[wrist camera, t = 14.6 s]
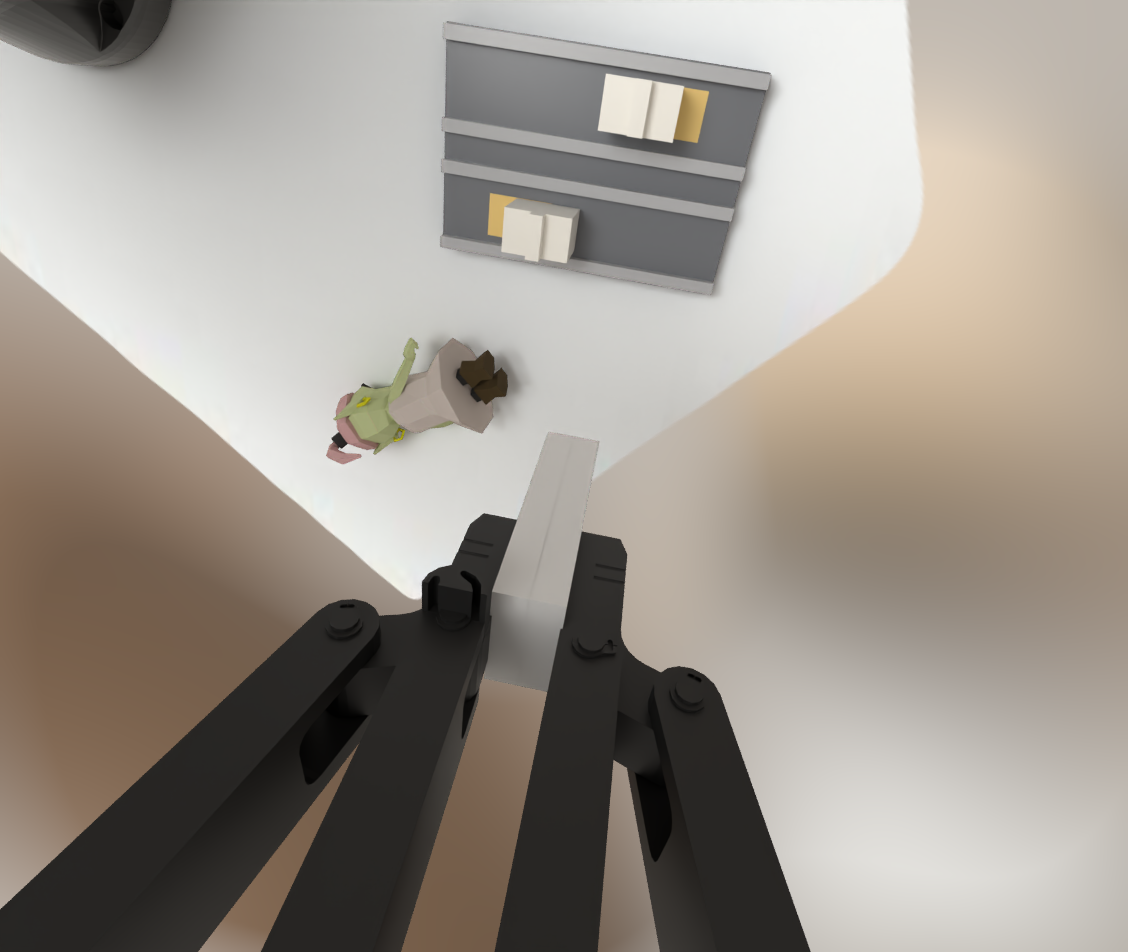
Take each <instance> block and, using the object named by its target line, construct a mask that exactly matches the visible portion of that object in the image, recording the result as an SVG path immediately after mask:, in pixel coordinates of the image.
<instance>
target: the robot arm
mask: <svg viewBox="0 0 1128 952" xmlns="http://www.w3.org/2000/svg"><path fill="white" fill-rule="evenodd" d="M170 5H171V0H0V40H2V41H4V42H6V43H8V44H11V45H13V46H15V47H17V48H20V49H22V50H24V51H26V52H28V53H31V54H33V55H36V56H38V57H41V58H44V59H48V60H51V61H55V62H60V63H65V64H73V65H90V66H111V65H117V64H121V63H124V62H127V61H129V60H131V59H134V58H135V57H137V56H138V55H140V54H141V53H142V52H144V51H145V50H146V49H147V48H148V47H149V46H150V45H151V44H152V43H153V41H154V40H155V39H156V37H157V36H158V34H159V33H160V31H161V29H162V27H163V25H164V23H165V20H166V18H167V15H168V12H169V9H170ZM598 445H599V441H594V440H589V439H584V438H579V437H573V436H568V435H563V434H558V433H553V432H548V434H547V437H546V440H545V443H544V446H543V448H542V451H541V454H540V457H539V460H538V463H537V465H536V468H535V471H534V474H533V477H532V480H531V482H530V485H529V488H528V491H527V494H526V496H525V499H524V502H523V505H522V508H521V511H520V513H519V516H518V519H517V520H515V519H510V518H505V517H500V516H495V515H490V514H485V513H484V514H482V515H481V516H480V517H479V518H477V519H476V520H475V521H474V522H472V523H471V524H470V526H469V528H468V530H467V533H466V535H465V537H464V540H463V541H462V543H461V546H460V548H459V551H458V552H457V554H456V556H455V559H454V561H453V563H452V565H449V566H445V567H440V568H438V569H436V570H434V571H432V572H430V573H429V574H428V575H427V576H426V577H425V579H424V580H423V581H422V609H420V610H418V611H415V612H412V613H407V614H400V615H384V616H379V615H378V613H377V611H376V609H375V608H374V607H373V606H371V605H370V604H368V603H366V602H364V601H359V600H355V599H352V600H340V601H337V602H334V603H331V604H328V605H327V606H325V607H324V608H322V609H321V610H319V611H318V612H317V613H316V614H315V615H314V616H312V617H311V618H310V619H309V620H308V621H307V622H306V623H305V624H304V625H303V626H302V627H301V628H300V629H299V630H298V631H297V632H295V633H294V634H293V635H292V636H291V637H290V638H289V639H288V640H287V641H286V642H285V643H284V644H283V645H282V646H280V648H278V649H277V650H276V651H275V652H274V653H273V654H272V655H271V656H270V657H269V658H268V659H267V660H266V661H265V662H263V664H261V665H260V666H259V667H258V668H257V669H256V670H255V671H254V672H253V673H252V674H251V675H250V676H249V677H247V678H246V679H245V680H244V681H243V682H242V683H241V684H240V685H239V686H238V687H237V688H236V689H235V690H234V691H233V692H232V693H230V694H229V695H228V696H227V697H226V698H225V699H224V700H223V701H222V702H221V703H220V704H219V705H218V706H217V707H216V708H214V710H212V711H211V712H210V713H209V714H208V715H207V716H206V717H205V718H204V719H203V720H202V721H201V722H199V723H198V724H197V726H195V727H194V728H193V729H192V730H191V731H190V732H189V733H188V734H187V735H186V736H185V737H184V738H182V739H181V740H180V741H179V742H178V743H177V744H176V745H175V746H174V747H173V748H172V749H171V750H170V751H169V752H168V753H166V754H165V755H164V756H163V757H162V758H161V759H160V760H159V761H158V762H157V763H156V764H155V765H154V766H153V767H152V768H151V769H149V770H148V771H147V772H146V773H145V774H144V775H143V776H142V777H141V778H140V779H139V780H138V781H137V782H136V783H134V784H133V785H132V786H131V787H130V788H129V789H128V790H127V791H126V792H125V793H124V794H123V795H122V796H121V797H120V798H119V799H118V800H116V801H115V802H114V803H113V804H112V805H111V806H110V807H109V808H108V809H107V810H106V811H105V812H104V813H103V814H101V815H100V816H99V817H98V818H97V819H96V820H95V821H94V822H93V823H92V824H91V825H90V826H89V827H88V828H87V829H86V830H84V831H83V832H82V833H81V834H80V835H79V836H78V837H77V838H76V839H75V840H74V841H73V842H72V843H71V844H70V845H68V846H67V847H66V848H65V849H64V850H63V851H62V852H61V853H60V854H59V855H58V856H57V857H56V858H55V859H54V860H52V861H51V862H50V863H49V864H48V865H47V866H46V867H45V868H44V869H43V870H42V871H41V872H40V873H39V874H38V875H36V877H34V878H33V879H32V880H31V881H30V882H29V883H28V884H27V885H26V886H25V887H24V888H23V889H22V890H21V891H19V892H18V893H17V894H16V895H15V896H14V897H13V898H12V899H11V900H10V901H9V902H8V903H7V904H6V905H5V906H3V907H2V908H1V909H0V952H198V951H199V950H200V948H201V947H202V946H203V944H204V943H205V942H206V941H207V939H208V938H209V937H210V935H211V934H212V933H213V931H214V930H215V929H216V928H217V926H218V925H219V924H220V922H221V921H222V920H223V919H224V917H225V916H226V915H227V913H228V912H229V911H230V909H231V908H232V907H233V906H234V904H235V903H236V902H237V900H238V899H239V898H240V897H241V895H242V894H243V893H244V891H245V890H246V889H247V887H248V886H249V885H250V884H251V882H252V881H253V880H254V878H255V877H256V876H257V874H258V873H259V872H260V871H261V869H262V868H263V866H265V864H266V863H267V862H268V860H269V859H270V858H271V856H272V855H273V854H274V852H275V851H276V850H277V849H278V847H279V846H280V845H281V843H282V842H283V841H284V840H285V838H286V837H287V836H288V834H289V833H290V832H291V831H292V829H293V828H294V827H295V825H296V824H297V823H298V821H299V820H300V819H301V818H302V816H303V815H304V814H305V812H306V811H307V810H308V808H309V807H310V806H311V805H312V803H313V802H314V801H315V799H316V798H317V797H318V795H319V794H320V793H321V792H322V790H323V789H324V788H325V786H326V785H327V784H328V783H329V781H330V780H331V779H332V777H333V776H334V775H335V773H336V772H337V771H338V770H339V768H340V767H341V766H342V764H343V763H344V762H345V760H346V759H347V758H348V757H349V755H350V754H351V753H352V751H353V750H354V749H355V748H356V746H357V745H358V744H359V745H358V747H357V749H356V751H355V754H354V756H353V758H352V760H351V762H350V764H349V766H348V769H347V770H346V773H345V775H344V777H343V779H342V782H341V783H340V786H339V787H338V790H337V792H336V794H335V796H334V798H333V800H332V802H331V804H330V807H329V809H328V811H327V813H326V815H325V817H324V819H323V821H322V824H321V826H320V828H319V830H318V832H317V834H316V836H315V838H314V840H313V843H312V845H311V847H310V849H309V851H308V853H307V855H306V857H305V859H304V862H303V864H302V866H301V868H300V870H299V872H298V874H297V876H296V879H295V881H294V883H293V885H292V887H291V889H290V891H289V893H288V895H287V898H286V900H285V902H284V904H283V906H282V908H281V910H280V912H279V915H278V917H277V919H276V921H275V923H274V925H273V927H272V929H271V932H270V934H269V936H268V938H267V940H266V942H265V944H264V947H263V949H262V951H261V952H401V950H402V947H403V943H404V940H405V937H406V934H407V930H408V927H409V924H410V920H411V917H412V914H413V911H414V908H415V904H416V901H417V898H418V895H419V891H420V888H421V885H422V882H423V878H424V875H425V872H426V869H427V865H428V862H429V859H430V856H431V853H432V849H433V846H434V843H435V839H436V836H437V833H438V830H439V826H440V823H441V820H442V816H443V814H444V810H445V807H446V804H447V801H448V797H449V794H450V791H451V788H452V784H453V781H454V778H455V774H456V771H457V768H458V765H459V762H460V758H461V755H462V752H463V749H464V746H465V742H466V739H467V736H468V732H469V729H470V726H471V723H472V719H473V716H474V713H475V710H476V707H477V703H478V697H479V686H480V683H481V680H482V677H483V674H484V671H485V675H484V678H485V679H489V680H495V681H499V682H504V683H508V684H513V685H517V686H522V687H527V688H532V689H536V690H541V691H546V692H547V697H546V702H545V707H544V711H543V716H542V721H541V726H540V731H539V736H538V741H537V746H536V751H535V755H534V760H533V765H532V770H531V775H530V780H529V785H528V790H527V795H526V800H525V805H524V810H523V815H522V820H521V825H520V829H519V834H518V839H517V844H516V849H515V854H514V859H513V864H512V869H511V874H510V879H509V883H508V888H507V893H506V898H505V903H504V908H503V913H502V918H501V923H500V928H499V932H498V938H497V943H496V947H495V952H597V951H598V939H599V926H600V914H601V903H602V891H603V878H604V867H605V855H606V843H607V830H608V818H609V806H610V805H609V804H610V793H611V782H612V770H613V760H615V761H616V762H618V763H620V764H622V765H623V766H625V767H627V771H628V777H629V782H630V788H631V793H632V799H633V804H634V810H635V815H636V821H637V826H638V832H639V837H640V843H641V849H642V854H643V860H644V866H645V871H646V876H647V882H648V888H649V893H650V899H651V904H652V909H653V916H654V921H655V927H656V932H657V938H658V943H659V949H660V952H810V949H809V946H808V943H807V940H806V938H805V935H804V932H803V929H802V926H801V923H800V920H799V917H798V915H797V912H796V909H795V906H794V904H793V900H792V897H791V894H790V892H789V889H788V886H787V883H786V880H785V877H784V875H783V872H782V869H781V866H780V863H779V860H778V857H777V855H776V852H775V849H774V846H773V843H772V840H771V838H770V835H769V832H768V829H767V826H766V823H765V820H764V818H763V815H762V812H761V809H760V806H759V803H758V800H757V798H756V795H755V792H754V789H753V786H752V783H751V781H750V778H749V775H748V772H747V769H746V767H745V764H744V761H743V758H742V755H741V752H740V750H739V746H738V744H737V741H736V738H735V735H734V732H733V729H732V727H731V724H730V721H729V718H728V715H727V712H726V709H725V707H724V704H723V701H722V698H721V695H720V693H719V692H718V690H717V688H716V687H715V685H714V683H712V682H711V681H710V680H709V679H708V678H707V677H706V676H705V675H704V674H702V673H700V672H698V671H696V670H694V669H691V668H686V667H680V666H678V667H672V668H667V669H666V670H664V671H663V672H659V671H657V670H655V669H653V668H651V667H649V666H647V665H645V664H644V663H642V662H641V661H639V660H637V659H636V658H635V657H634V656H633V655H632V654H631V653H630V652H629V651H628V649H627V648H626V646H625V645H624V642H623V640H622V637H621V621H622V609H623V597H624V586H625V585H624V584H625V575H626V572H625V571H626V563H627V553H626V551H625V548H624V546H623V544H622V542H621V540H620V539H617V538H612V537H607V536H602V535H596V534H591V533H586V532H582V527H583V522H584V517H585V511H586V506H587V501H588V496H589V491H590V486H591V481H592V476H593V471H594V465H595V460H596V455H597V450H598ZM359 742H360V743H359Z"/></svg>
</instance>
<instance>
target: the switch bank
mask: <svg viewBox="0 0 1128 952" xmlns="http://www.w3.org/2000/svg"><path fill="white" fill-rule="evenodd" d="M443 39H446V99H445V117H442V131H445V158H444V159H441V172H444V225H443V235H441V236H440V247H443V248H449V249H455V250H460V251H466V252H472V253H477V254H483V255H488V256H494V257H500V258H505V259H511V260H516V261H522V262H528V263H533V264H539V265H545V266H550V267H556V268H561V269H567V270H573V271H578V272H584V273H589V274H595V275H601V276H606V277H612V278H618V279H623V280H629V281H634V282H640V283H646V284H651V285H657V286H662V287H668V288H674V289H679V290H685V291H691V292H696V293H702V294H707V295H711V293H712V289H713V286H714V283H713V281H714V277H715V274H716V270H717V266H718V263H719V259H720V255H721V252H722V248H723V244H724V241H725V237H726V233H727V230H728V226H729V223H730V222H731V220H732V217H733V213H734V204H735V201H736V197H737V193H738V190H739V186H740V183H741V181H743V177H744V173H745V170H746V168H745V164H746V161H747V157H748V153H749V150H750V146H751V143H752V139H753V135H754V132H755V128H756V124H757V121H758V117H759V113H760V110H761V106H762V103H763V99H764V95H765V92H766V90H768V86H769V83H770V79H771V75H770V73H768V72H762V71H756V70H750V69H743V68H737V67H731V66H724V65H718V64H712V63H706V62H699V61H693V60H687V59H680V58H674V57H668V56H661V55H655V54H649V53H643V52H636V51H630V50H624V49H617V48H611V47H605V46H598V45H592V44H586V43H580V42H573V41H567V40H561V39H554V38H548V37H542V36H535V35H529V34H523V33H517V32H510V31H504V30H498V29H491V28H485V27H479V26H473V25H466V24H460V23H454V22H447V23H443ZM606 74H612V75H618V76H624V77H631V78H639V79H645V80H651V81H656V82H662V83H668V84H674V85H680V86H684V90H683V95H682V100H681V104H680V109H679V114H678V119H677V124H676V128H675V133H674V138H673V143H670V142H664V141H658V140H652V139H646V138H642V139H640V138H634V137H628V136H627V135H622V134H616V133H610V132H604V131H598V125H599V118H600V111H601V104H602V98H603V91H604V84H605V77H606ZM517 198H519V199H525V200H530V201H536V202H542V203H548V204H554V205H559V206H565V207H571V208H577V209H580V212H579V220H578V227H577V234H576V242H575V249H574V252H573V254H572V255H571V257H570V259H569V260H568V262H567V263H561V262H556V261H550V260H545V259H540V260H539V261H538V262H536V261H530V260H525V256H522V255H516V254H511V253H505V252H501V249H502V234H503V220H504V207H505V206H507V205H508V204H510V203H511V202H513V201H514V200H515V199H517Z"/></svg>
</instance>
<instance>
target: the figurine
mask: <svg viewBox="0 0 1128 952" xmlns="http://www.w3.org/2000/svg"><path fill="white" fill-rule="evenodd" d="M414 348H416V349H418V348H419V347H418V344H417V342H415V341H414V340H413V339H412V338H410V339H409V341H408V343H407V345H406V346H405V349H404V352H403V355H404V357H405V359H404V361H403V363H402V365H401V367H400V369H399V371H398V373H397V375H396V377H395V379H394V381H393V384H392V386H389V387H384V388H378V389H374V388H371V387H369V386H367V385H365V384H364V383H363V384H362V385H361V386H362V387H361V388H360V389H359V390H358V391H357V392H356V393H355V394H354V393H350V394H347V395H345V396H344V397H342V398H341V399H340V401H339V403H338V406H337V410H336V417H335V418H334V420H337V429H338V431H339V432H338V433H337V434H336V435H335V436H333V437H332V440H333V443H332V444H331V445H330V446H329V449H328V452H327V455H326V456H327V457H328V458H330V459H332V460H334V461H336V462H338V463H341V464H345V463H348V462H350V461H353V460H355V459H358V458H361V455H360V454H348V453H344V452H342V451H339V450H338V448H339V447H340V448H341V449H342V448H343V447H344V446H346V445H347V444H350V445H353V446H356V447H359V448H362V449H366V450H369V449H375V451H374V453H373V454H377V453H378V452H379V451H381V450H382V449H383V448H385V447H386V446H388V445H389V444H390V443H392V442H393V441H394V442H396V441H399V440H402V439H403V436H404V433H405V430H403V429H401V428H399V427H400V425H401V426H402V427H404V428H405V429H407V430H409V431H411V432H413V433H418V432H423V431H425V430H427V429H430V428H440V427H445V426H448V425H450V424H453V423H456V424H458V425H460V426H462V427H465V428H468V429H471V430H473V431H476V432H479V433H483V431H484V430H485V428H486V427H487V425H488V424H489V422H490V421H491V420H492V418H493V408H492V399H494V398H495V397H505V396H506V392H507V387H508V384H507V375H506V373H505V372H504V371H503V369H502V368H501V369H500V370H499V371H497V372H496V373H495V374H494V375H493V373H494V357H493V356H492V355H491V353H490V352H489V351H488V350H487V351H486V352H484V353H483V354H482V355H481V356H480V357H479V358H476V357H475V355H474V353H473V351H471V350H470V349H468V348H467V347H466V346H464V345H463V344H461V343H460V342H458V341H457V340H455V339H454V338H452V339H451V340H450V341H449V342H448V343H447V344H445V345H444V346H443V347H442V348H441V349H440V350H439V351H438V353H437V355H436V356H435V358H434V360H433V362H432V363H431V365H430V367H429V370H428V371H427V372H422V373H418V374H413V375H409V373H410V370H411V367H412V364H413V362H414V359H415V355H416V354H415V352H414ZM399 431H401V432H402V435H401V438H398V432H399ZM397 438H398V439H397Z"/></svg>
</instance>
